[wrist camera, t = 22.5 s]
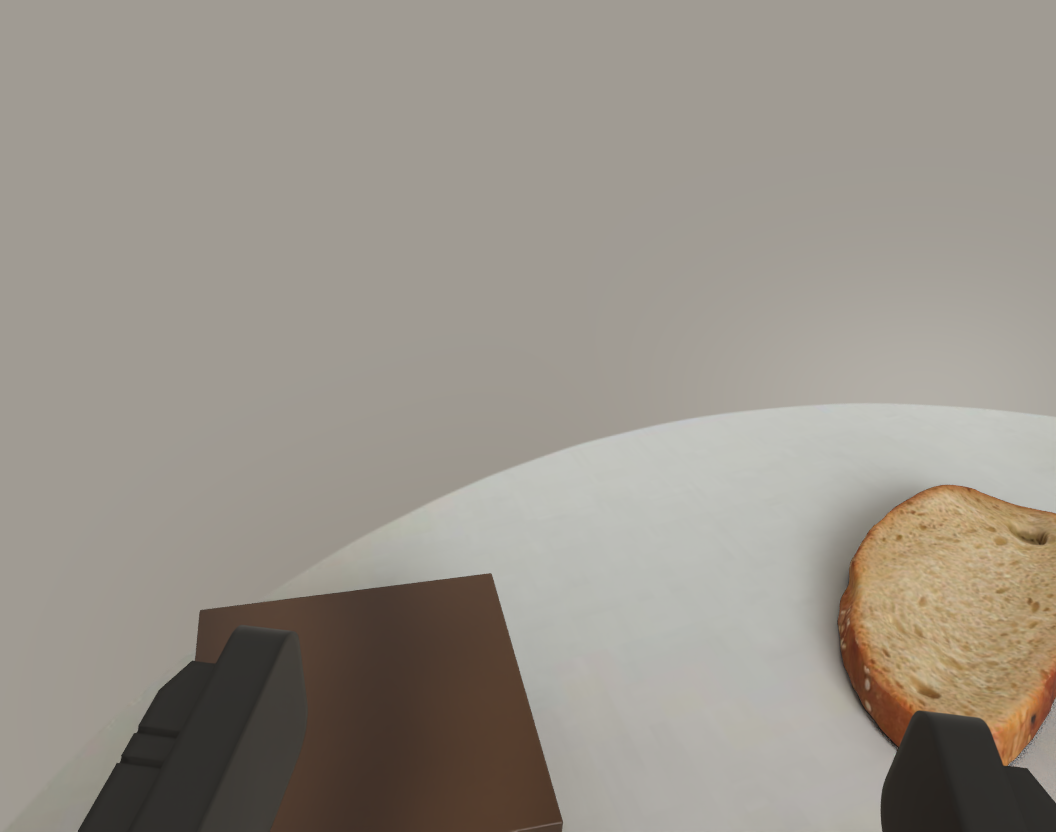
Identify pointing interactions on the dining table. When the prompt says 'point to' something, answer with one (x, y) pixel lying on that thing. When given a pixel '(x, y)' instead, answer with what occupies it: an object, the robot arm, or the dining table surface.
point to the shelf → (405, 711)
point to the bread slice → (955, 615)
